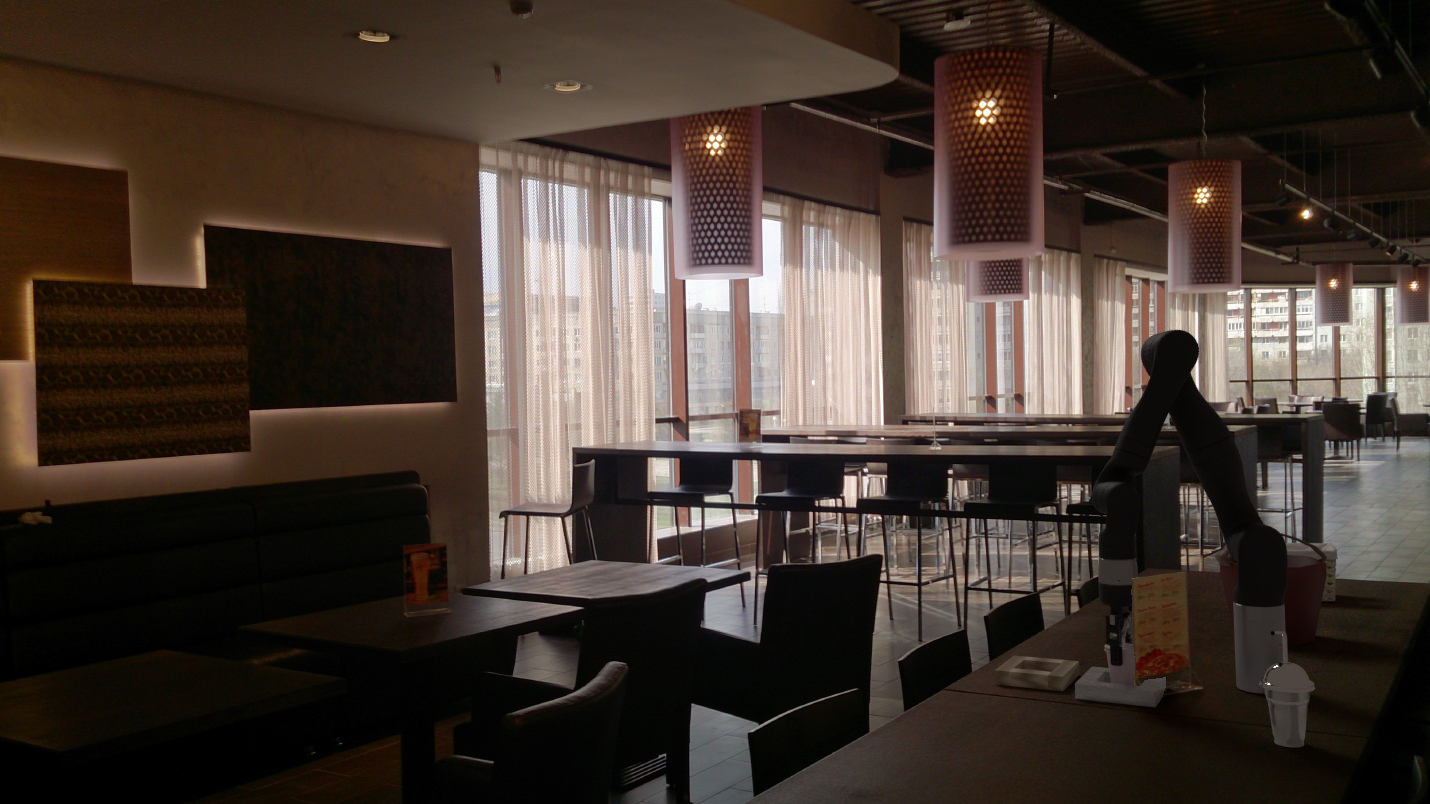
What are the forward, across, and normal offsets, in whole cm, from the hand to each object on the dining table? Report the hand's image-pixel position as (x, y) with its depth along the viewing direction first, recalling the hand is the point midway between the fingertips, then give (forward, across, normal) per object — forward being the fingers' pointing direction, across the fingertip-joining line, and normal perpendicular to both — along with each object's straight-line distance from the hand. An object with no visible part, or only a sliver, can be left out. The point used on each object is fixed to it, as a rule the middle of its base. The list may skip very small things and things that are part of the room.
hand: (1121, 660), depth 222 cm
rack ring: (+7, 0, 0) cm, 7 cm away
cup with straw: (+7, -21, -31) cm, 38 cm away
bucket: (+7, +64, -22) cm, 68 cm away
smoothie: (+7, 0, 0) cm, 7 cm away
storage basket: (+7, +119, -22) cm, 121 cm away
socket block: (+7, +4, +18) cm, 20 cm away
